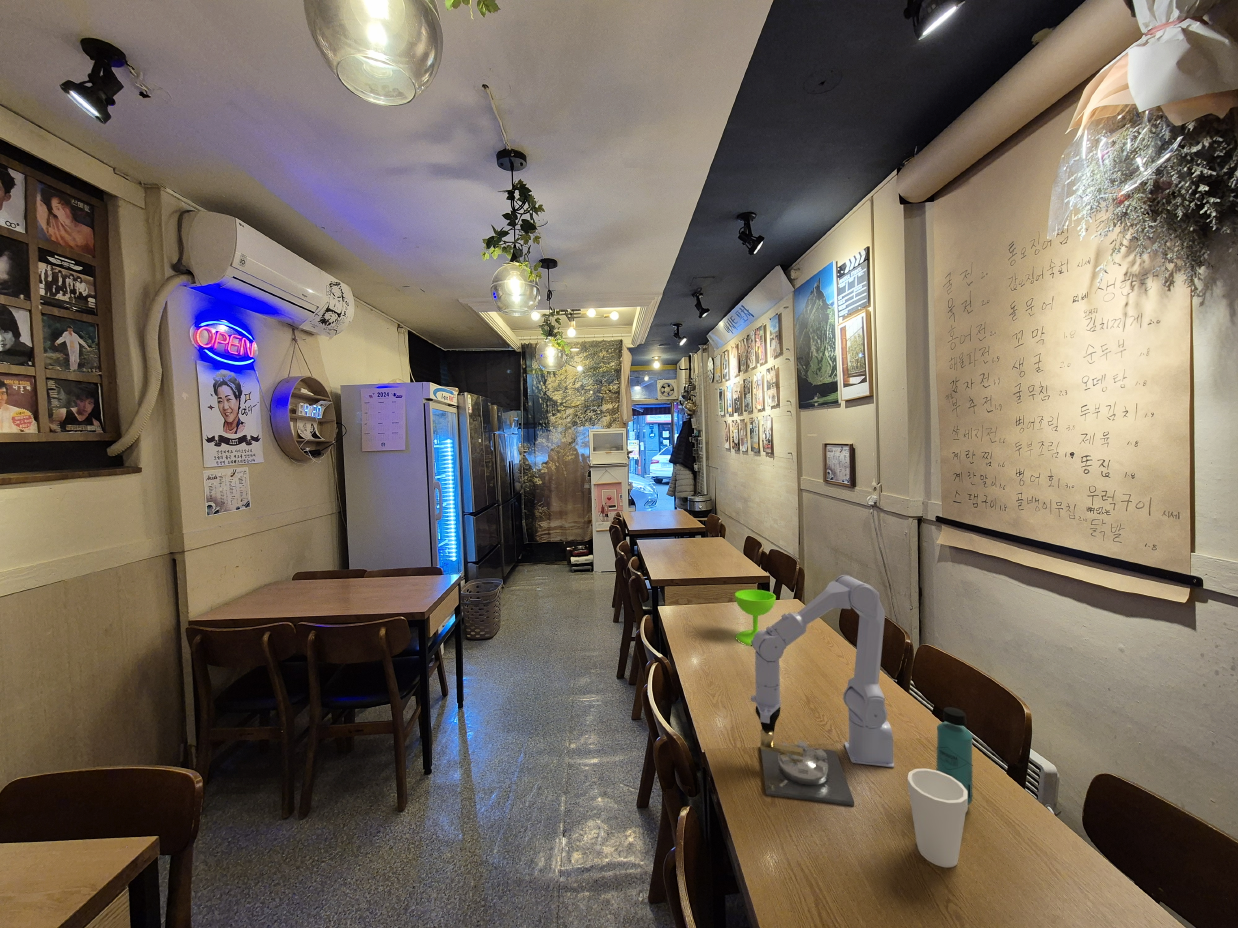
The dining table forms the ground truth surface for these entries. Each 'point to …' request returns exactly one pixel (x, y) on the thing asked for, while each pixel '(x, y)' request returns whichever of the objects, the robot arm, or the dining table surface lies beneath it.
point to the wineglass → (753, 609)
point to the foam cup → (937, 814)
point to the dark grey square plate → (826, 792)
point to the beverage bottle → (955, 748)
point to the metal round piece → (797, 760)
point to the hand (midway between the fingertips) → (768, 736)
